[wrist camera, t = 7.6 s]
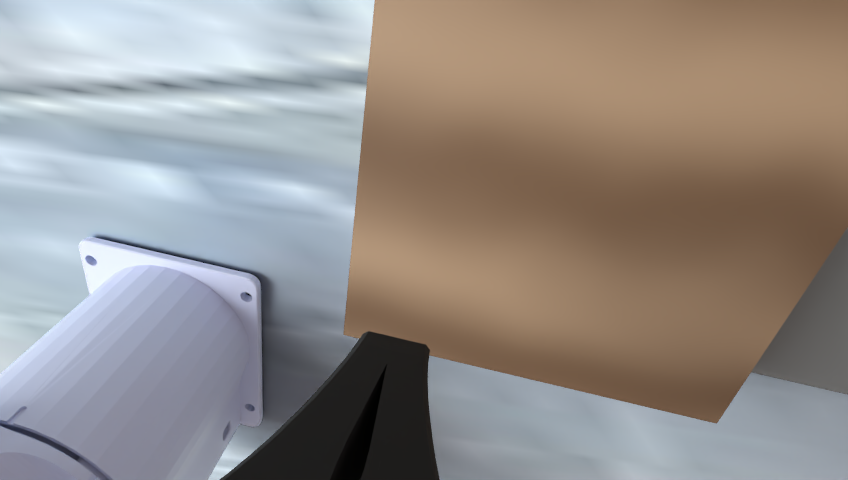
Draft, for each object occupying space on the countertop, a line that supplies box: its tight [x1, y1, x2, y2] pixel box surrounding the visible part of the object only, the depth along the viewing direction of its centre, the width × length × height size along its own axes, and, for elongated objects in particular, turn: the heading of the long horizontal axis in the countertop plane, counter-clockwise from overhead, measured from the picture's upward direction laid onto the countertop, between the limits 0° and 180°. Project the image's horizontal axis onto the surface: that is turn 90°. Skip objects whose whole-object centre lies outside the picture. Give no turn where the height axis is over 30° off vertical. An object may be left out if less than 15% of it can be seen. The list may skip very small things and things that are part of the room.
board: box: [344, 0, 848, 423], centre depth 17 cm, size 14×13×4 cm
